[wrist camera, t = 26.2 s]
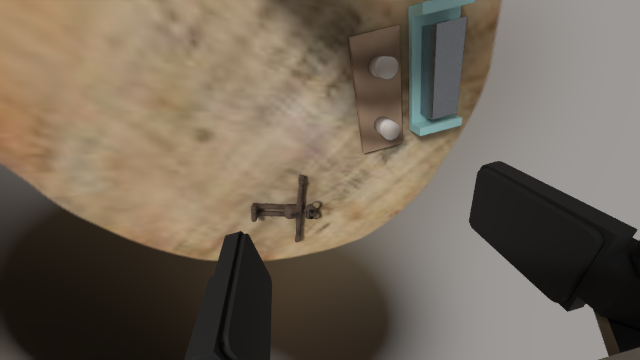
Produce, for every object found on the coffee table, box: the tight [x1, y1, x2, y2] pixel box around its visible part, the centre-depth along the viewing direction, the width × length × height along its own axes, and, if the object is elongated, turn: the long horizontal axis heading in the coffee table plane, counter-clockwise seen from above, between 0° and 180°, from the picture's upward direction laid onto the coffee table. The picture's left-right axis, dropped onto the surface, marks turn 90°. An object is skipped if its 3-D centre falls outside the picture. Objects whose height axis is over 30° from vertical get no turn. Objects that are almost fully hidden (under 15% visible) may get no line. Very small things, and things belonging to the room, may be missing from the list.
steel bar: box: [420, 17, 467, 119], centre depth 38 cm, size 14×4×4 cm, turn 12°
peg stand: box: [348, 25, 402, 153], centre depth 39 cm, size 20×8×6 cm, turn 12°
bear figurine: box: [251, 175, 320, 242], centre depth 49 cm, size 18×4×14 cm
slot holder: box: [409, 0, 476, 136], centre depth 39 cm, size 20×8×4 cm, turn 12°
